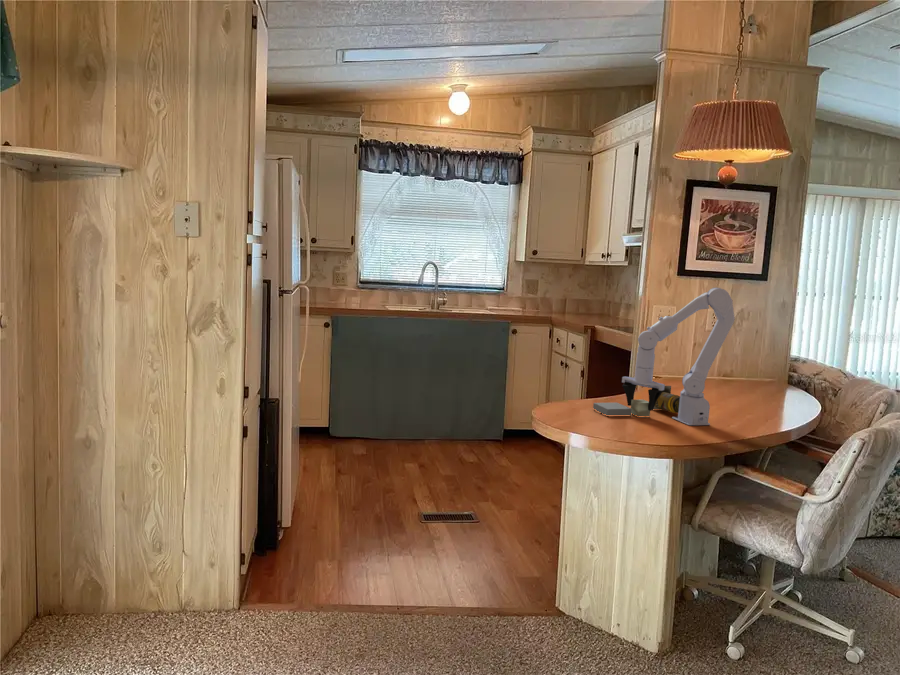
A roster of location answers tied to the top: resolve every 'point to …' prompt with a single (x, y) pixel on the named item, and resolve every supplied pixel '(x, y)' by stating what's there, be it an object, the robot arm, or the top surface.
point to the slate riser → (612, 408)
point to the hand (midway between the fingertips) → (640, 407)
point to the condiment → (668, 401)
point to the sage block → (640, 407)
